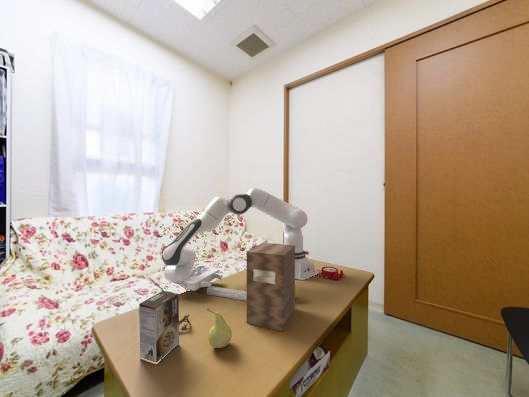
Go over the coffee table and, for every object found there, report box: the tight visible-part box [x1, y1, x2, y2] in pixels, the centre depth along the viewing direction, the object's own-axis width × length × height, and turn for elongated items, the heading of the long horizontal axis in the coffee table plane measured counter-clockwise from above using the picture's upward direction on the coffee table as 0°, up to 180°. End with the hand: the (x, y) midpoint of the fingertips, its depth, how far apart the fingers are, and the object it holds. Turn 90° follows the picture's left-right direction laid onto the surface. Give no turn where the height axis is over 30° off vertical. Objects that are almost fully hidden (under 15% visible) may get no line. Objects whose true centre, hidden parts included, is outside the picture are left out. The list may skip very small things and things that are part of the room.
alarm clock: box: [319, 266, 347, 280], centre depth 125 cm, size 10×6×15 cm
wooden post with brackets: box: [179, 314, 192, 330], centre depth 75 cm, size 2×8×4 cm, turn 127°
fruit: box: [206, 308, 233, 349], centre depth 67 cm, size 7×8×12 cm
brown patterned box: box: [246, 242, 296, 332], centre depth 84 cm, size 14×17×26 cm
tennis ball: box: [295, 284, 299, 299], centre depth 98 cm, size 7×7×7 cm
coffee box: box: [138, 290, 180, 362], centre depth 64 cm, size 9×6×16 cm
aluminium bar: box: [206, 285, 247, 302], centre depth 100 cm, size 22×3×3 cm, turn 71°
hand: (216, 280), depth 104 cm, fingers open, 8 cm apart
